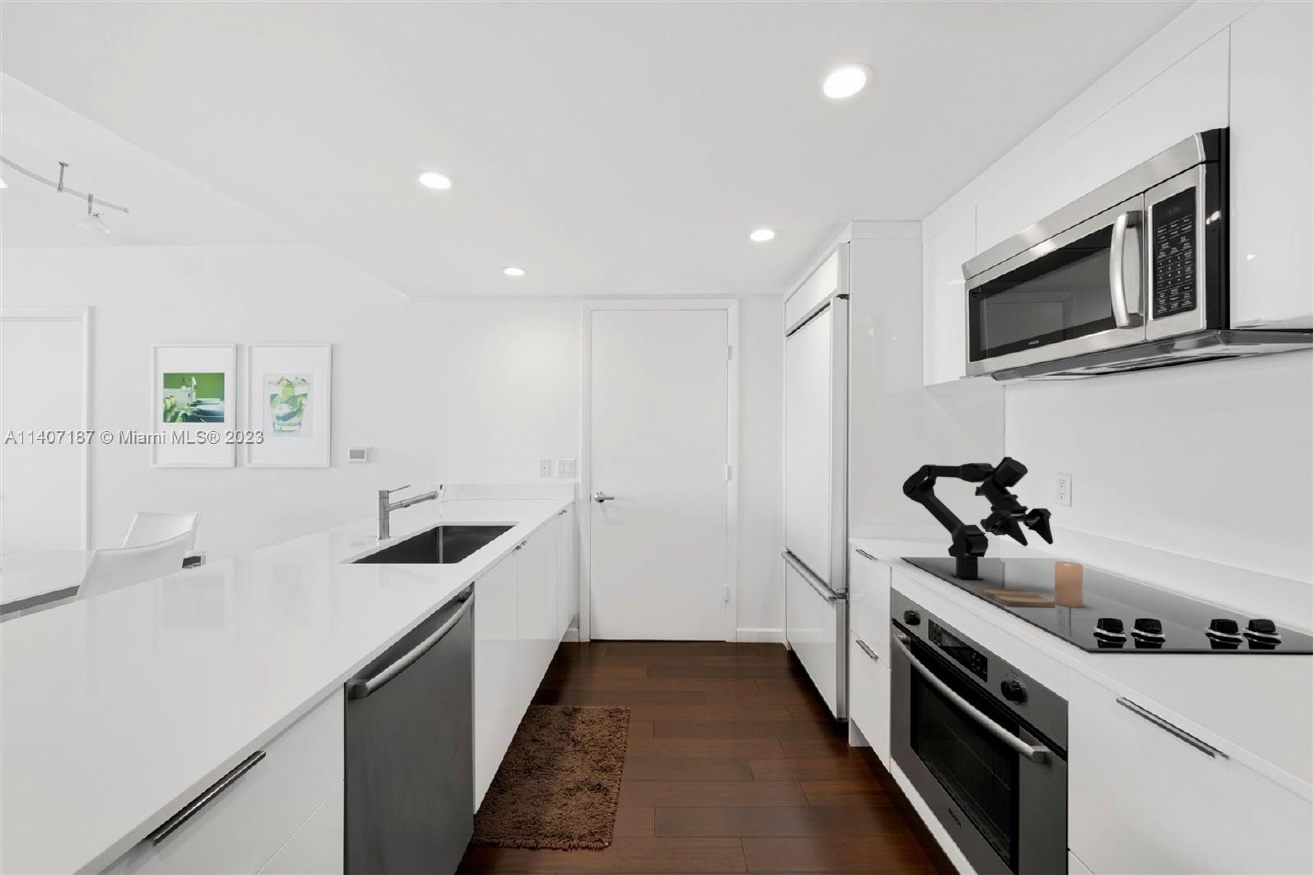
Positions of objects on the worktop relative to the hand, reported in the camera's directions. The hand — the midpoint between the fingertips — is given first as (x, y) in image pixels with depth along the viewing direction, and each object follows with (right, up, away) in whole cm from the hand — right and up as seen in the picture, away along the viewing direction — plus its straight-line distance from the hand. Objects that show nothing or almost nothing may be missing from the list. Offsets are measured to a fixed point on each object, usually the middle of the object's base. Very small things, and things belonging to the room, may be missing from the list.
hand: (1039, 544), depth 145 cm
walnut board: (-9, -13, -4) cm, 16 cm away
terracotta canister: (+2, -13, -7) cm, 15 cm away
